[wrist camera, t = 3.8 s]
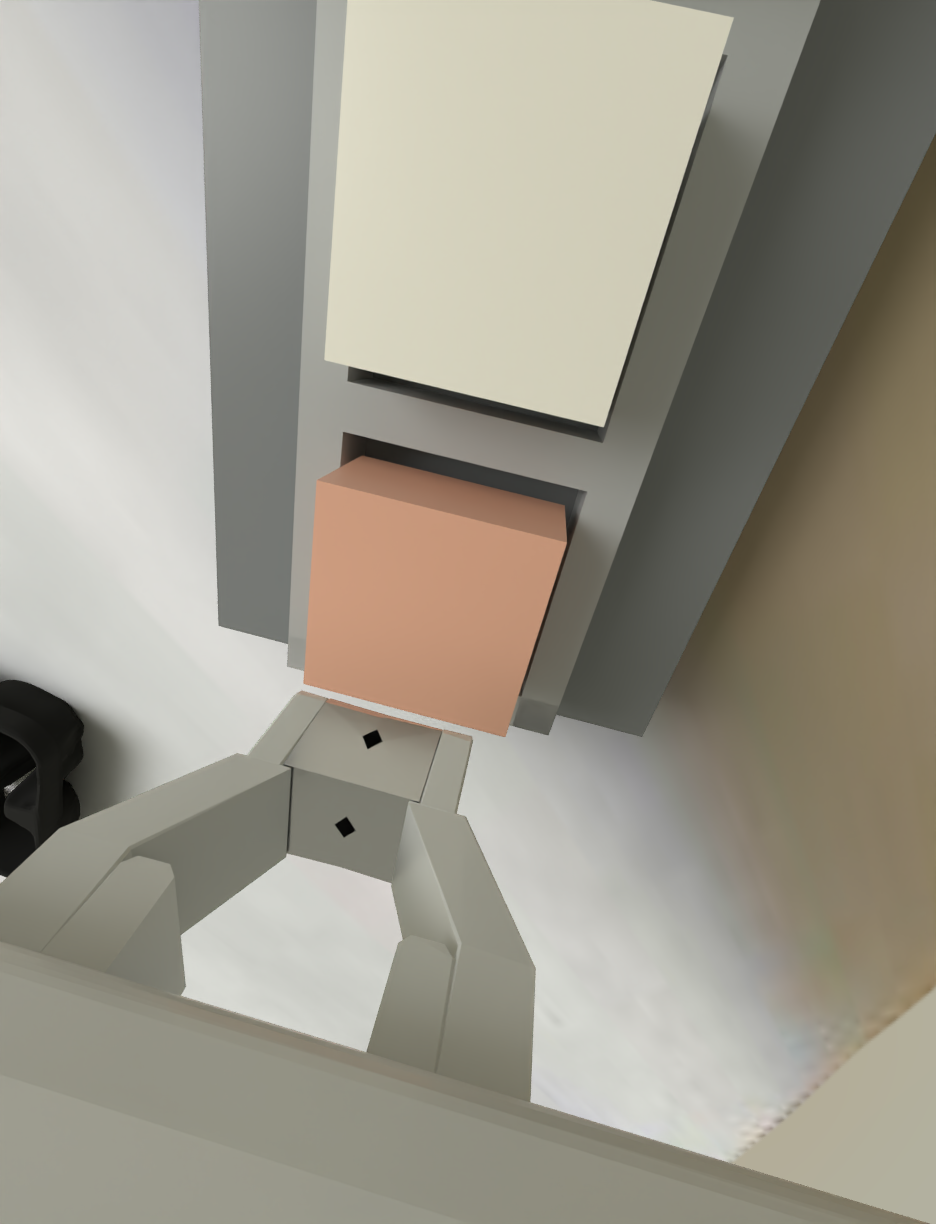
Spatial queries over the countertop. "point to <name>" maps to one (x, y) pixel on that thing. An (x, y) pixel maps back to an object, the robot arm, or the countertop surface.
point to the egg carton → (17, 743)
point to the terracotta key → (428, 590)
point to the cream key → (509, 189)
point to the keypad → (657, 356)
